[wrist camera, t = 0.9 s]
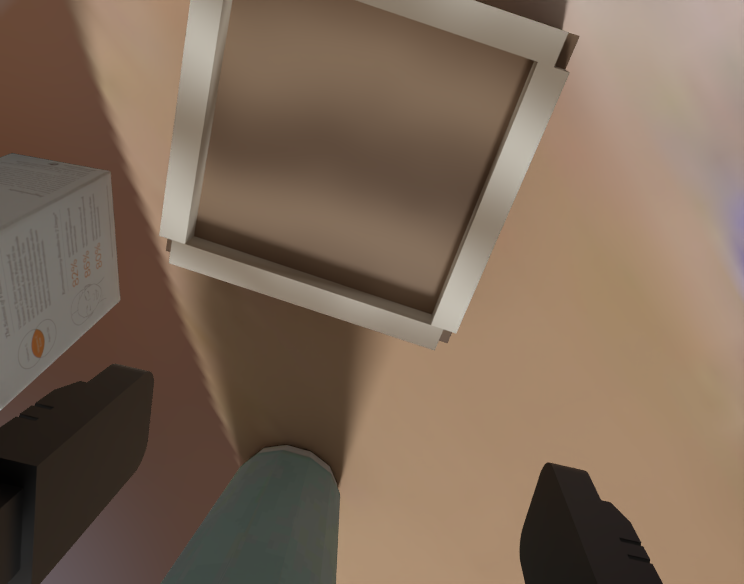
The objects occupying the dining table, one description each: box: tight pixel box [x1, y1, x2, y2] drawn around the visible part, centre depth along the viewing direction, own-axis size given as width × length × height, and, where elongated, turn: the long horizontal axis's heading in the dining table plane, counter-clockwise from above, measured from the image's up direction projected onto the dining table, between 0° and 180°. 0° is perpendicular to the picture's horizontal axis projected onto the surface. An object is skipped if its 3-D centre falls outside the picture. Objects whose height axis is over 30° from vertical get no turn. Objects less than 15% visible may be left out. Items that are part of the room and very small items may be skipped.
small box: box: [0, 153, 120, 410], centre depth 28 cm, size 8×6×10 cm
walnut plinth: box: [159, 0, 579, 350], centre depth 26 cm, size 14×14×5 cm
